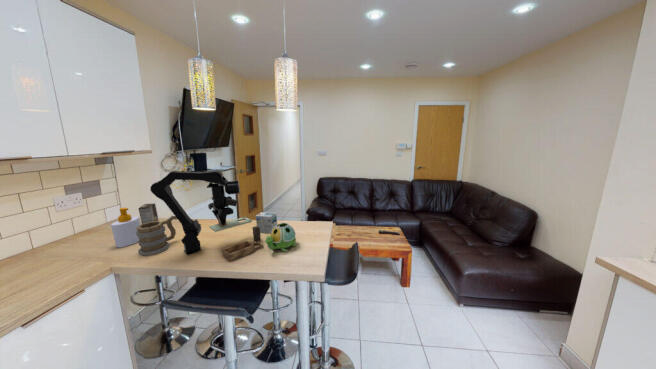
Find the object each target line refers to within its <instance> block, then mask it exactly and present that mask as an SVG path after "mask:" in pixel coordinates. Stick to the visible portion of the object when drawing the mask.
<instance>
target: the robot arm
mask: <svg viewBox="0 0 656 369" xmlns="http://www.w3.org/2000/svg"><path fill="white" fill-rule="evenodd" d="M177 180H179V181H203V182H206V183H208V184H207V186H206V188H208V189H209V188H211V195H212V196H211V200H212V202H210V203H208V205H207V206H208V207H207V208H208V209H209V210H211V212H212V214H213V215H214V217H215V218H216V220H217V221H218V218H219V220H220V222H221V223H222V225H225V221H226V222H227V217H228V216H229V215H233V214H234V209H233V208H231V207H237V204H238V200H237V199H234V198H233V197H232V196H229V195H236V194H241V186H240V182H239V180H238V179H237V180H231V181H230V180H228V179H227V178H226V177H225V176H224V174H223V172H222V171H221V170H220V169H215V170H214V169H213V170H206V171H183V170H182V171H181V170H180V171H178V170H172V171H170V172H168V174H167V175H166V176H164V177H162V179H161V180H158V181H157V182H154V183H153V184H151V185H150V189H149V190H150V192H151V193H152V195H154V196H155V197H156V198H158V199H159V200H161V201H163V202H164V204H165V205H166V206H167V207H168V209H169V210H170V211H171V213H173V216H176V218H177V219H176V220H178V221H179V223H180V224H181V227H182V231H183V233H184V236H183V237H182V239H181V240H180V241H181V243H182V244H183V248H184V249H183V252H184V253H185V254H186V256H188V255H192V254H195V253H198V252H201V251H202V247H201V241H200V240H199V238H198V237H199V235H200V233H201V231H202V224H201V223H200V222H199V221H198V218H197V219H195V220H194V219H192V218H191V217H190V216H189V215H188V214H187V212H186V211H185V209H184V208H183V206H182V205H181V204H180V203H179V202H178V200H177V199H176V197H175V196H174V193H173V189H172V187H171V185H173V183H174V182H175V181H177ZM226 194H227V196H226ZM229 206H231V207H229Z"/></svg>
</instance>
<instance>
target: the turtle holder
mask: <svg viewBox="0 0 656 369" xmlns="http://www.w3.org/2000/svg"><path fill="white" fill-rule="evenodd" d="M296 236H297V235H296V231H295V229H294V227H293V226H291V225H290V223H288V222H280V223H277V225H276V226H275V227H274V228H273V230H272V232H271V233H270V234H269V235H266V237H265V239H264V242H265V244H267V248H268V249H270V250H271V251H273V250H277V249H278V250H279V249H280V251H281V252H284V253H286V252H288V251H289V250H288V249H287V248H289V247H295V246H297V244H296V241H297V238H296Z"/></svg>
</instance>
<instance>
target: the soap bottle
mask: <svg viewBox="0 0 656 369" xmlns="http://www.w3.org/2000/svg"><path fill="white" fill-rule="evenodd" d="M127 211H129V208H127V207H120V208H119V212H120V214H119V215H118V218H117V221H114V222H113V223H111V225H110V226H111V230H112V231H111V232H112V235H113V240H114V243H115V247H116V248H124V247H128V246H132V245H133V244H136V243H138V241H139V237H137V235H136V232H137V227H138V226H139V225H141V224H142V223H141V219H140V216H139V217H138V216H132V215H131V214H129V213H128V212H127Z"/></svg>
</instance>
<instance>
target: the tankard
mask: <svg viewBox="0 0 656 369" xmlns="http://www.w3.org/2000/svg"><path fill="white" fill-rule="evenodd" d="M174 220H178V219H177V218H176V216H175V215H171V216H170V217H168V218H167V219H165V220H162V221H160V220H159V221H152V222H147V223H144V224H142V223H140V224H141V225H139V226H138V227H137V232H136V235H137V237H139V241H138V242H137V243H138V246H140V248H139V249H138V254H140V256H141V255H142V256H152V255H153V254H154V255H156V254H160V253H162V252H164V251H166V250H167V249H168V248H169V247H170V246H171V243H170V242H169V241H171V240H173V239H175V236H176V229H175V227H174V226H173V224H172V223H173V222H172V221H174ZM164 225H166V226H167V228H168V230H169V231H170V235H169V236H167V234H165V231H166V226H164Z"/></svg>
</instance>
